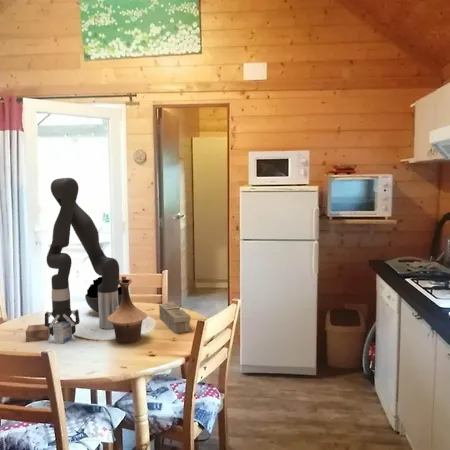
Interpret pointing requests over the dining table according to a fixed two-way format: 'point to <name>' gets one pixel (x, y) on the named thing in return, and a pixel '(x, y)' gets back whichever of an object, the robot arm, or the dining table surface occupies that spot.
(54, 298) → the robot arm
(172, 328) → the block tower
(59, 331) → the medicine box
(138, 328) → the brown clay vase
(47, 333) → the walnut block
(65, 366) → the dining table surface
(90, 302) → the bowl of black rocks
